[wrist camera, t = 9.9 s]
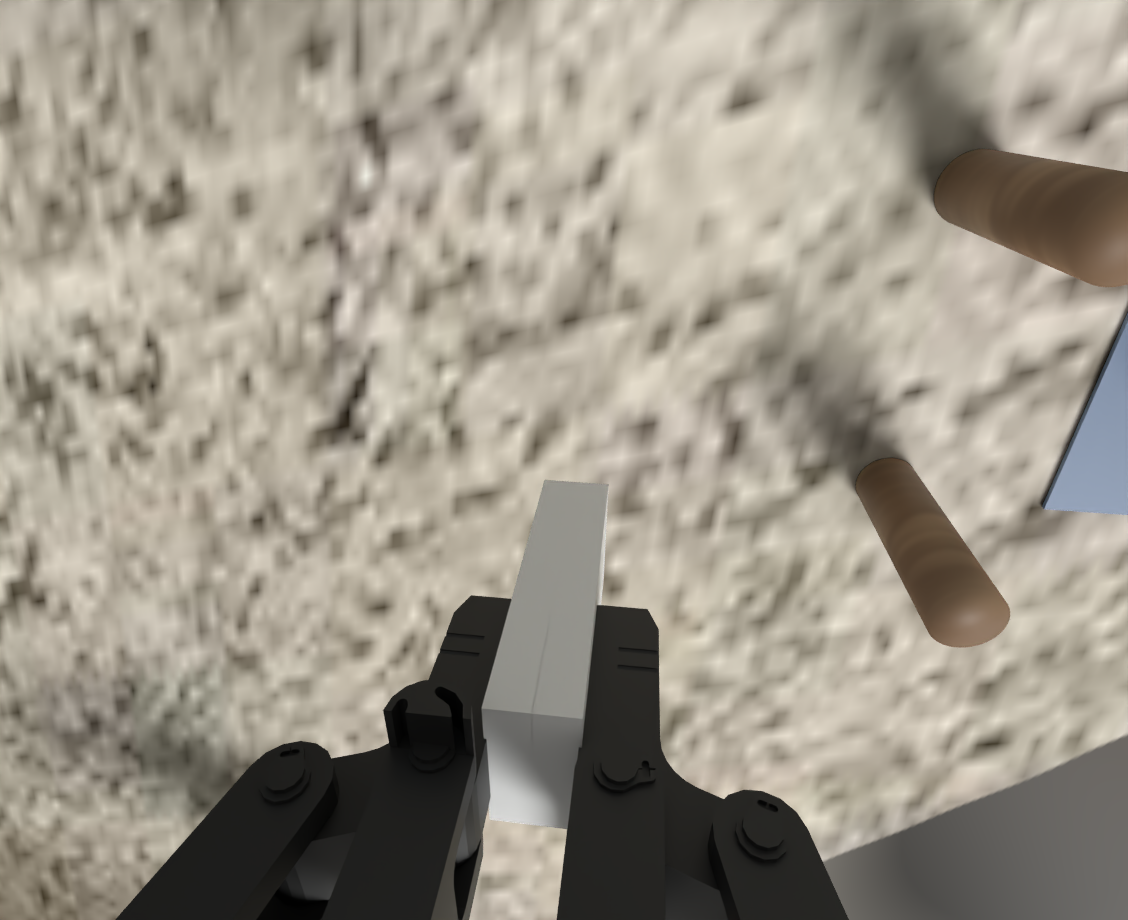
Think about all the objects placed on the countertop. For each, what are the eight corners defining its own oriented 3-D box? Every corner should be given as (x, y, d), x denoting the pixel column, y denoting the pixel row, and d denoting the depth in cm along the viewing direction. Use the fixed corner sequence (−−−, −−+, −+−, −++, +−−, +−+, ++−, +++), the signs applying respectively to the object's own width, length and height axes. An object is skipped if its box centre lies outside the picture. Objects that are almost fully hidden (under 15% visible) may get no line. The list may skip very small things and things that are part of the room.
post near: (945, 148, 23) (1092, 175, 16) (1023, 149, 23) (1212, 178, 15) (925, 224, 25) (1051, 285, 17) (998, 226, 24) (1160, 289, 17)
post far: (863, 456, 30) (938, 586, 22) (923, 460, 29) (1021, 593, 22) (849, 504, 31) (917, 643, 23) (907, 508, 31) (995, 650, 23)
